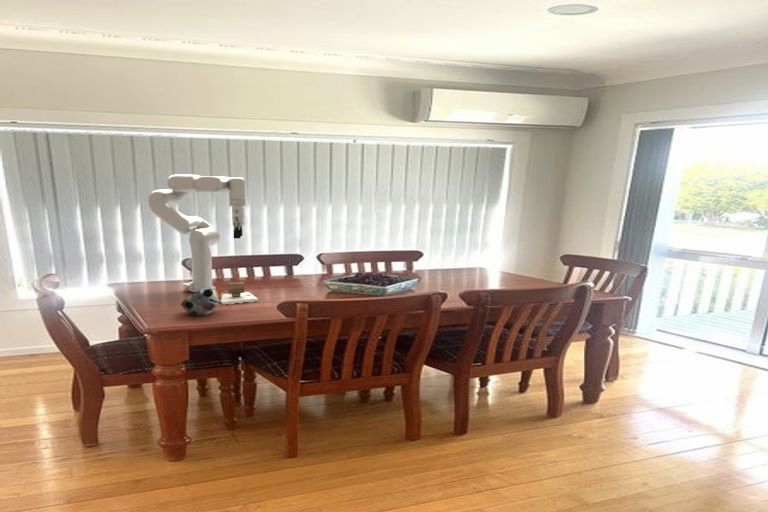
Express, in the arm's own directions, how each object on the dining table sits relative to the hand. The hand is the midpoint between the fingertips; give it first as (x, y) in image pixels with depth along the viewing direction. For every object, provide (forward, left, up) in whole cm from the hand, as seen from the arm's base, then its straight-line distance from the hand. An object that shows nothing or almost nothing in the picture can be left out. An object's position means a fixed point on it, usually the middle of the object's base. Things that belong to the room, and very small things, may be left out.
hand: (238, 237), depth 253 cm
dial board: (-5, -14, -28) cm, 32 cm away
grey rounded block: (-24, -32, -29) cm, 49 cm away
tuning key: (-4, -11, -26) cm, 29 cm away
